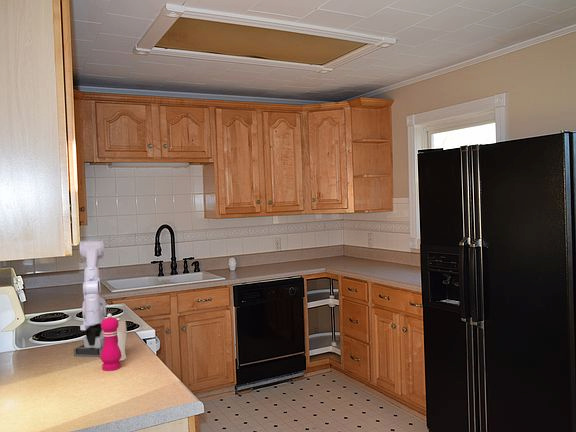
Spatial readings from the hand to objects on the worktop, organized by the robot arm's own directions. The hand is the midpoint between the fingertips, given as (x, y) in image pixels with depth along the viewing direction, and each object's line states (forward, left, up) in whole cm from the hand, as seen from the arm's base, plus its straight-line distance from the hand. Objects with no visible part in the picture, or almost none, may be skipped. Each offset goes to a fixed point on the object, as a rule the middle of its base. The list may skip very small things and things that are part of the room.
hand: (93, 343), depth 201 cm
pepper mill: (+17, +17, -4) cm, 24 cm away
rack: (0, 0, -4) cm, 4 cm away
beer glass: (+7, +14, -4) cm, 16 cm away
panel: (0, 0, -3) cm, 3 cm away
